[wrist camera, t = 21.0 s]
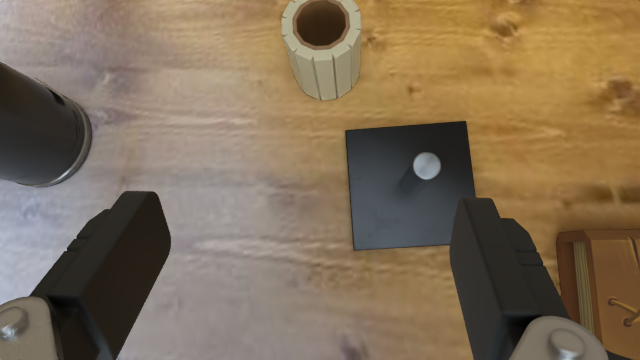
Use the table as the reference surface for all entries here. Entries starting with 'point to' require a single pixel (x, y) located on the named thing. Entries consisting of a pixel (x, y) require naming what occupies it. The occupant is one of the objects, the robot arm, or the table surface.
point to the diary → (603, 285)
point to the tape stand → (407, 183)
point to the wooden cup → (323, 45)
